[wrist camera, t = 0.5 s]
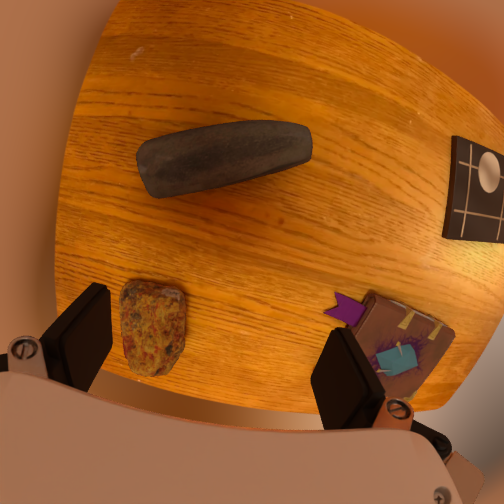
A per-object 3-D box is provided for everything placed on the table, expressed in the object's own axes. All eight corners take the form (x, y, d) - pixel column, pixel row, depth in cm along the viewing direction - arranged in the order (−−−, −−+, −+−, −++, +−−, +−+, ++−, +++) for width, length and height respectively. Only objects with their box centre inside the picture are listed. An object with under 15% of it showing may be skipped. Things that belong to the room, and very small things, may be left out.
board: (451, 135, 27) (457, 135, 26) (510, 160, 28) (515, 161, 26) (441, 236, 31) (447, 239, 30) (500, 241, 32) (505, 243, 31)
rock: (132, 299, 37) (109, 274, 28) (188, 295, 38) (181, 268, 29) (137, 377, 32) (112, 377, 23) (197, 374, 34) (191, 374, 25)
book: (340, 272, 33) (356, 288, 28) (447, 322, 37) (464, 336, 32) (280, 371, 37) (286, 395, 32) (395, 395, 41) (407, 412, 36)
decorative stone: (152, 200, 28) (139, 206, 25) (141, 143, 26) (126, 141, 22) (309, 171, 28) (320, 173, 24) (300, 113, 26) (309, 106, 22)
